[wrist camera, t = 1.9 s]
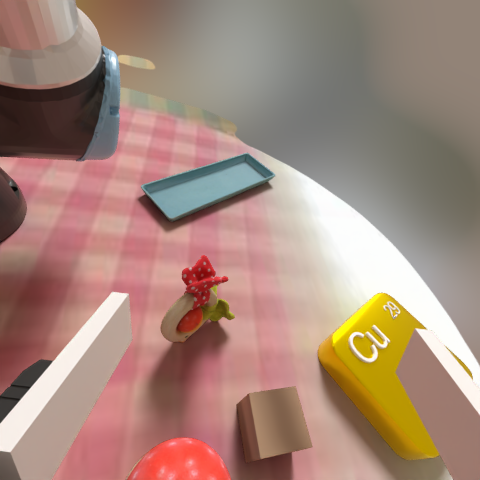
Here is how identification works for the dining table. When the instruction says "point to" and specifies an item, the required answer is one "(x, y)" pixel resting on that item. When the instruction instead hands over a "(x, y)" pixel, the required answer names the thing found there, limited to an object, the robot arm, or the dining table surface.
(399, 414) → the element tile
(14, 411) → the robot arm
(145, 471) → the stacking toy
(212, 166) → the rectangular tray
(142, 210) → the dining table surface
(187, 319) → the bird rattle
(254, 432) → the walnut cube
